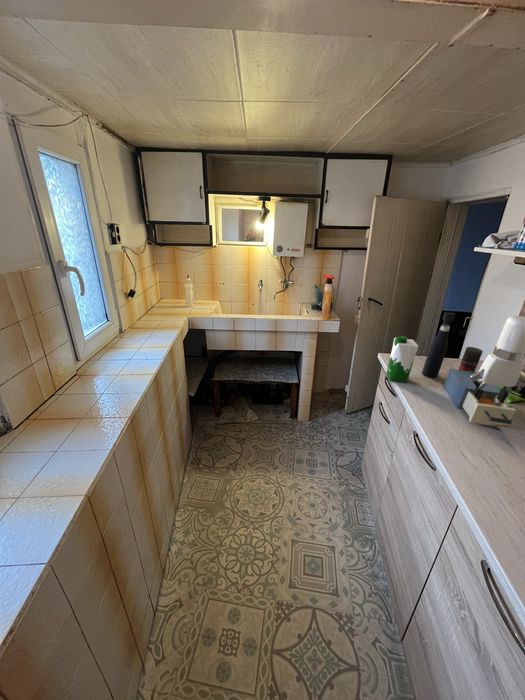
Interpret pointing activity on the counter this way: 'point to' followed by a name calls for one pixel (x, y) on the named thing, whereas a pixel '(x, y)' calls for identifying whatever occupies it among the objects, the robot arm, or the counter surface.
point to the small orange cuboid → (486, 401)
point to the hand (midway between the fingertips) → (488, 398)
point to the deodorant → (470, 359)
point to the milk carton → (401, 359)
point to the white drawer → (487, 410)
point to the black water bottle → (438, 348)
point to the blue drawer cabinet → (464, 386)
